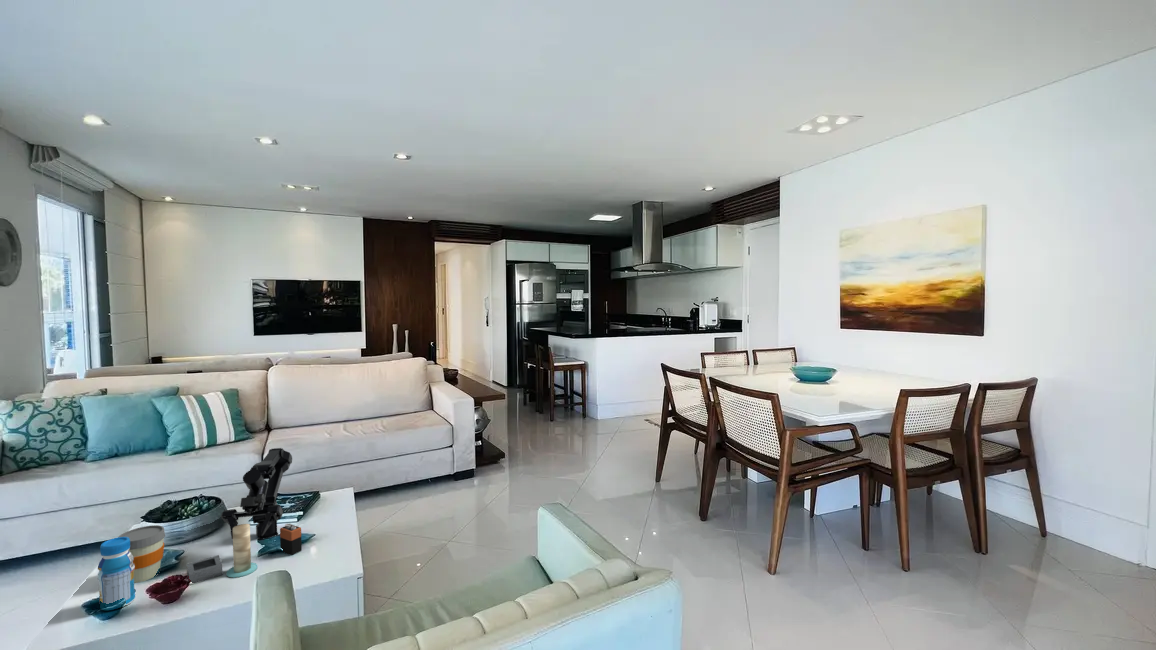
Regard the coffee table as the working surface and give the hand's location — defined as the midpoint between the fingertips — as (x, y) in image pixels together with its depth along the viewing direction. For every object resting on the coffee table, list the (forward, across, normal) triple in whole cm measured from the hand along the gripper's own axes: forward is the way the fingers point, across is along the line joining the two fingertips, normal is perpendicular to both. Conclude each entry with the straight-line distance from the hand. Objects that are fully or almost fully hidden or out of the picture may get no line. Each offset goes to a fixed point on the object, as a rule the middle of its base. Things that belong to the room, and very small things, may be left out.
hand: (247, 537), depth 178 cm
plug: (+10, 0, +2) cm, 10 cm away
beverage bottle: (+19, -30, -5) cm, 36 cm away
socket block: (+10, -12, +3) cm, 16 cm away
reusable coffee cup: (+7, -32, +7) cm, 33 cm away
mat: (+11, 0, +2) cm, 11 cm away
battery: (+4, +13, +10) cm, 17 cm away
